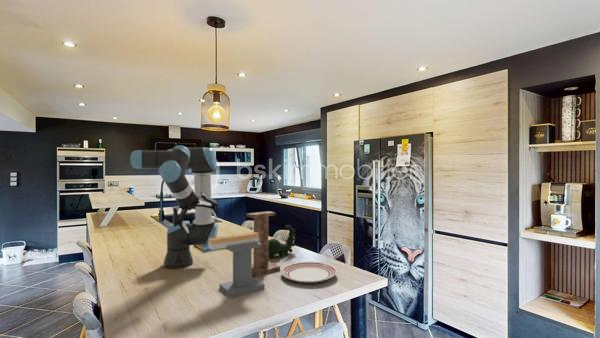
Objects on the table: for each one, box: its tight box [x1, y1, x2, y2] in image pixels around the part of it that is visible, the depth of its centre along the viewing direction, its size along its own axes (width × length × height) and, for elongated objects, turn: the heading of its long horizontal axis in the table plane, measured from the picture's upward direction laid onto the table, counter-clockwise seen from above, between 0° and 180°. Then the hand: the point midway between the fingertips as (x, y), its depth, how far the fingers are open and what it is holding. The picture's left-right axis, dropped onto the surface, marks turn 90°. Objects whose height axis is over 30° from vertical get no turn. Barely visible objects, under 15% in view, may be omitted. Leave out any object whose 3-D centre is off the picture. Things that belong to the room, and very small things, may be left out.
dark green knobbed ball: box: [268, 224, 297, 259], centre depth 187 cm, size 9×19×25 cm
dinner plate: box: [280, 261, 338, 284], centre depth 153 cm, size 28×27×3 cm
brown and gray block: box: [207, 231, 259, 251], centre depth 134 cm, size 22×4×4 cm, turn 128°
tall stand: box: [246, 210, 281, 278], centre depth 161 cm, size 16×12×30 cm
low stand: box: [219, 242, 266, 299], centre depth 136 cm, size 16×12×20 cm
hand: (202, 223), depth 141 cm, fingers open, 13 cm apart
